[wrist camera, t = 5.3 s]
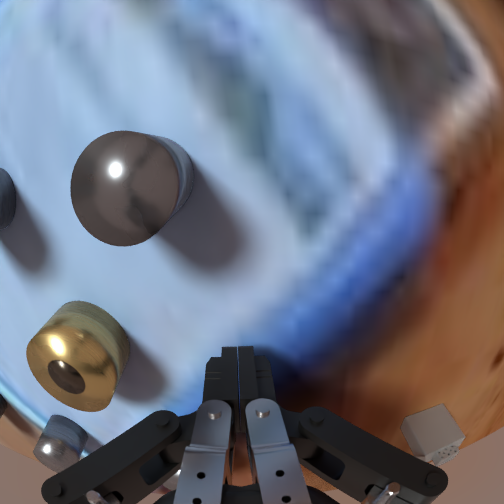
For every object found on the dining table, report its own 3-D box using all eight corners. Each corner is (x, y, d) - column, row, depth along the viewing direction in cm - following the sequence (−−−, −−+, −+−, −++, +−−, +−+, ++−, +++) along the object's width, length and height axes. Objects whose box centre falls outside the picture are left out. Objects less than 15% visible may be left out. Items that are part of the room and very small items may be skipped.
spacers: (192, 133, 11) (173, 124, 8) (221, 459, 19) (221, 501, 15) (-82, 195, 10) (-115, 208, 7) (-3, 414, 17) (-18, 439, 14)
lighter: (444, 402, 19) (486, 467, 11) (437, 415, 19) (476, 477, 12) (372, 426, 18) (406, 507, 11) (368, 438, 19) (398, 515, 11)
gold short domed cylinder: (119, 301, 14) (93, 341, 11) (138, 375, 16) (123, 418, 12) (45, 298, 14) (12, 330, 10) (69, 366, 15) (47, 403, 12)
